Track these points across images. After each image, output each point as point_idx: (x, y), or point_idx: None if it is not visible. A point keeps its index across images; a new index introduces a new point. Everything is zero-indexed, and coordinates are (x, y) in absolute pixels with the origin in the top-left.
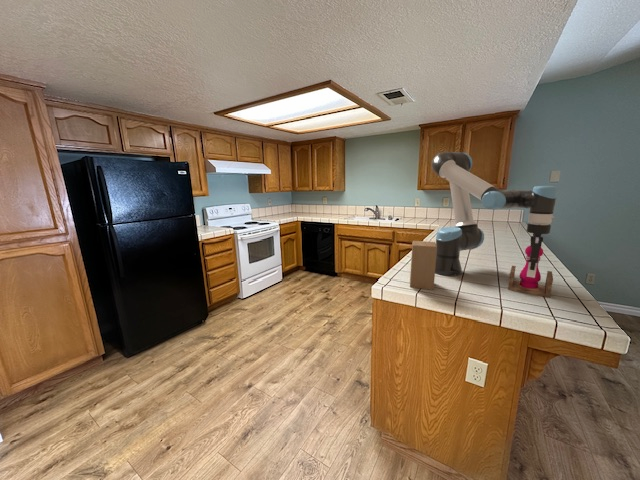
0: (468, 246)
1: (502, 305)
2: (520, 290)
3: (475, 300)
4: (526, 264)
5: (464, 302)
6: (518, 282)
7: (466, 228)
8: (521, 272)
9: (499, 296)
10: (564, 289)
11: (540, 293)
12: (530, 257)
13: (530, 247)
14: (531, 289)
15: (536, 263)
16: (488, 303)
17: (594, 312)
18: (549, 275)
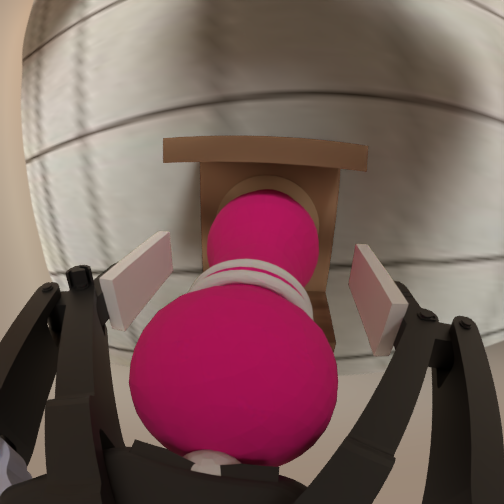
0: None
1: (47, 155)
2: (202, 192)
3: (43, 86)
4: (239, 250)
5: (25, 75)
6: (312, 185)
7: None
8: (243, 203)
9: (101, 127)
10: (346, 341)
11: (204, 266)
12: (30, 300)
13: (145, 393)
14: None
15: (114, 320)
16: (41, 121)
17: None
18: None
